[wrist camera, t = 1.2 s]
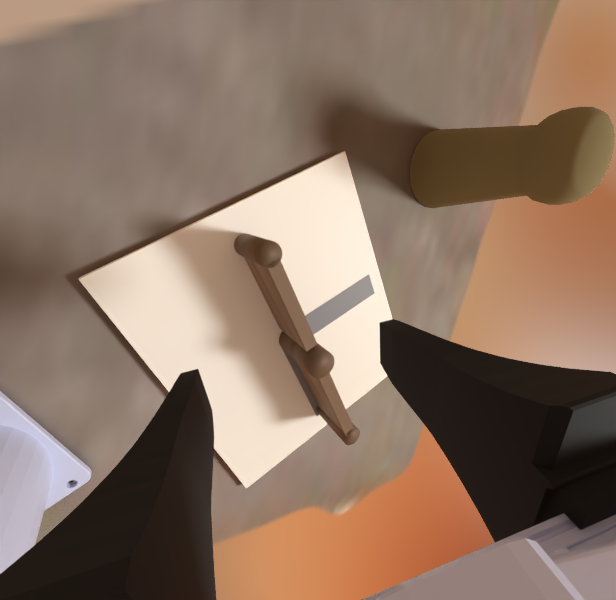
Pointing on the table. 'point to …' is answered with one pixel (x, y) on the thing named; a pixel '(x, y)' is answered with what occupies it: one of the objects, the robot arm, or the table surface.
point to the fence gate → (275, 287)
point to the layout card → (256, 311)
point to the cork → (514, 160)
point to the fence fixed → (322, 386)
